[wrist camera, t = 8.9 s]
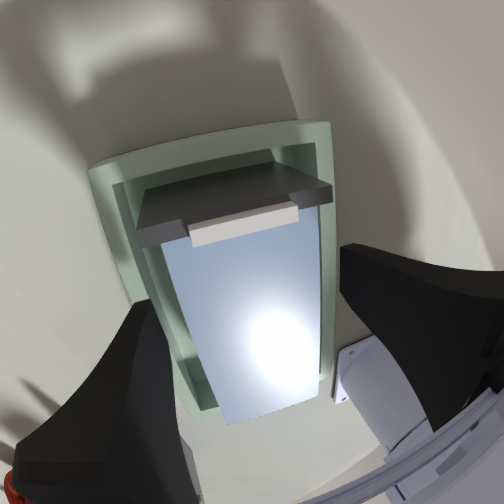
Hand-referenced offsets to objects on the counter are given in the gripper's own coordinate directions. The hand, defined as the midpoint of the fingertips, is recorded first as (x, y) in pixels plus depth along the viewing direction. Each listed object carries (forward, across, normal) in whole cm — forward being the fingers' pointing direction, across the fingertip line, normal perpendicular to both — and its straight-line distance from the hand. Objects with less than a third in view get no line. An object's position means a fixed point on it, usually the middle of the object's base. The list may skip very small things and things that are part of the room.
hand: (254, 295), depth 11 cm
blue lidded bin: (+5, 0, +2) cm, 5 cm away
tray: (+5, 0, +2) cm, 6 cm away
